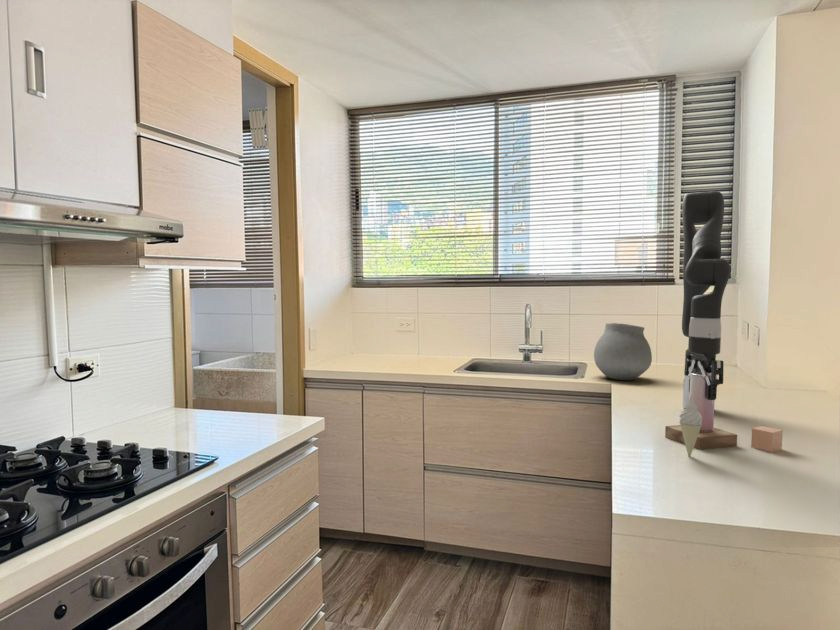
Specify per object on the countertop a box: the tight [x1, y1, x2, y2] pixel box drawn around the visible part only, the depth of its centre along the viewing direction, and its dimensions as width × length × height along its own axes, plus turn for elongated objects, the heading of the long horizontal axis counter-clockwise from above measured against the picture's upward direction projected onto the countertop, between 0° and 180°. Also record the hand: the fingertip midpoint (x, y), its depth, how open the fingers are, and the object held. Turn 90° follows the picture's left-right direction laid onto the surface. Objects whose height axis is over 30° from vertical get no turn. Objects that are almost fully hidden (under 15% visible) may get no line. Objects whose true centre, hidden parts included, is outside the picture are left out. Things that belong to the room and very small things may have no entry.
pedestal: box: [664, 424, 738, 450], centre depth 147 cm, size 12×12×3 cm
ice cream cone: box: [678, 395, 703, 458], centre depth 134 cm, size 5×5×15 cm
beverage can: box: [689, 372, 716, 433], centre depth 147 cm, size 6×6×15 cm
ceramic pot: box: [593, 322, 653, 381], centre depth 249 cm, size 24×24×25 cm
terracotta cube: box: [750, 425, 784, 453], centre depth 142 cm, size 5×5×5 cm
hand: (702, 396), depth 147 cm, fingers open, 8 cm apart
